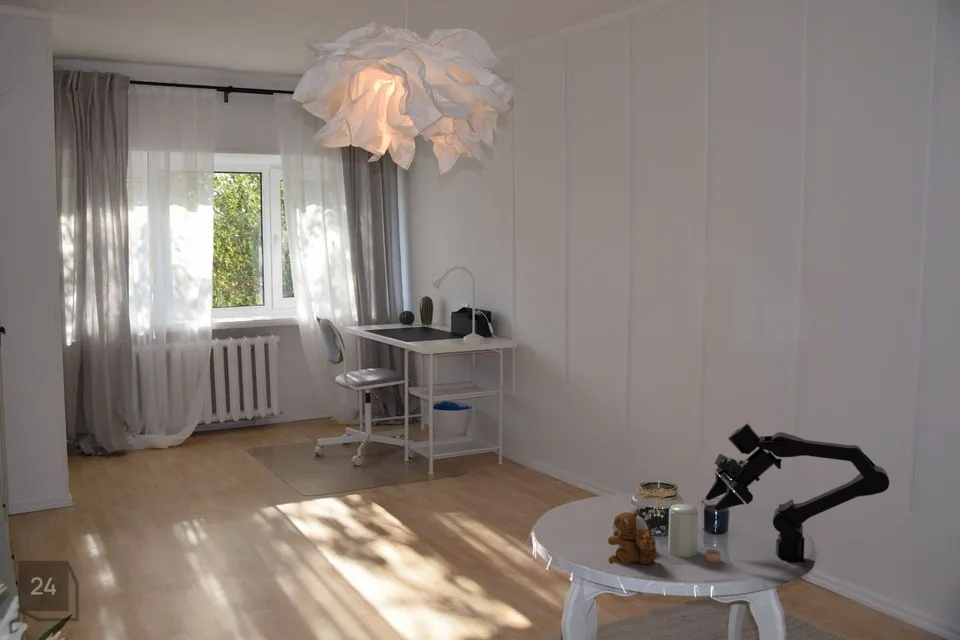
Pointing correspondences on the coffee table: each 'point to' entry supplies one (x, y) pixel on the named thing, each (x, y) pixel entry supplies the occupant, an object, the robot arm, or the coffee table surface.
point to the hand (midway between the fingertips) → (710, 504)
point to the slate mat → (698, 557)
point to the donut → (637, 524)
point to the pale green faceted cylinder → (683, 530)
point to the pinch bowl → (712, 556)
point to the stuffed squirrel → (631, 541)
